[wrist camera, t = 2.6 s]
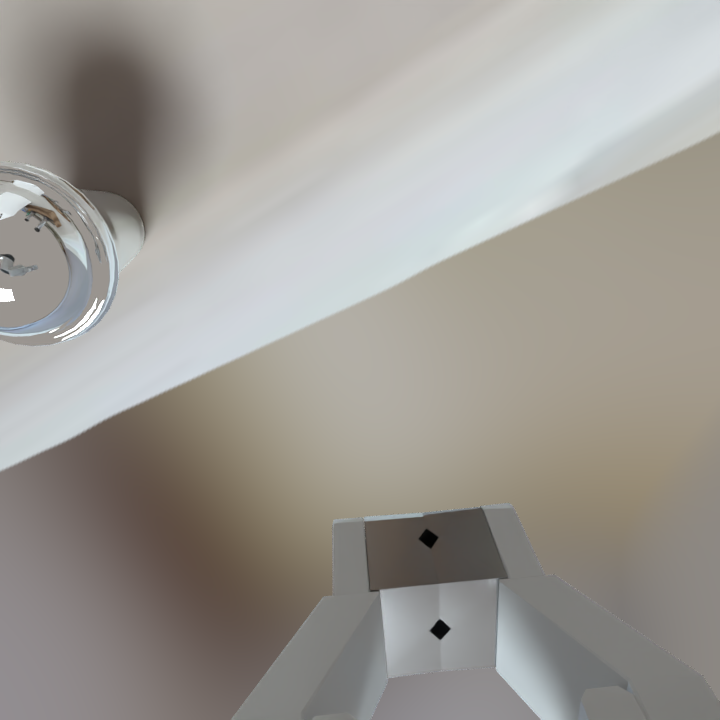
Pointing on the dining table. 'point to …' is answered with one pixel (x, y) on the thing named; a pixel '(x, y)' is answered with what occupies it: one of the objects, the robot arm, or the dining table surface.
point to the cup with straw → (59, 254)
